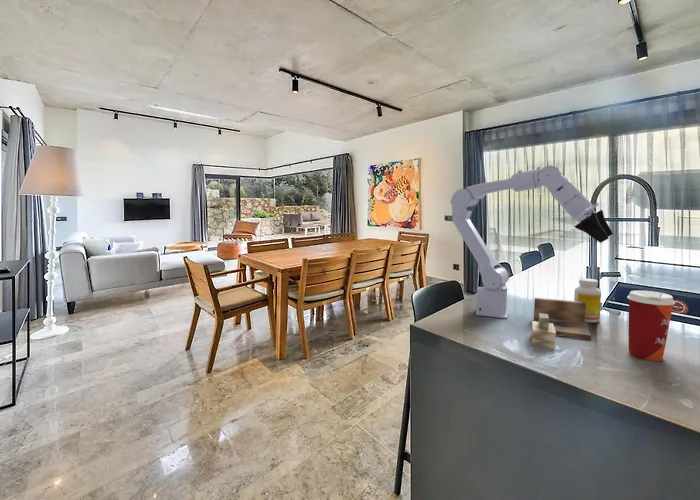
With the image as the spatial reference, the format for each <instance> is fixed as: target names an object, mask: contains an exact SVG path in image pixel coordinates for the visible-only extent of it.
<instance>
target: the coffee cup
mask: <svg viewBox="0 0 700 500" xmlns="http://www.w3.org/2000/svg"><path fill="white" fill-rule="evenodd" d="M626 298H627V299H628V354H629V355H631V356H632V357H634V358H637V359H640V360H643V361H650V362H660V361H663V358H664V354H665V349H666V345H667V344H666V343H667V340H668V339H667V338H668V334H669V327H670V323H671V316H672V311H673V306H674V305H675V304H676V302H675V301H674V297H673V296H672V295H671V294H668V293H665V292H659V291H651V290H631V291H630V292H629V294H628V295H627V297H626Z"/></svg>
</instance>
